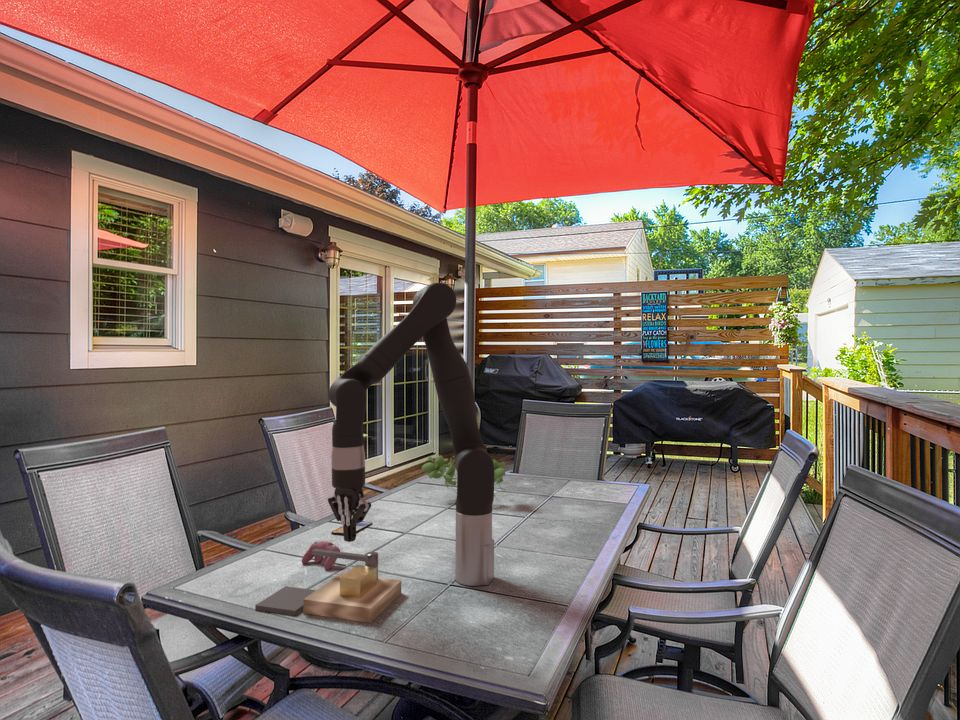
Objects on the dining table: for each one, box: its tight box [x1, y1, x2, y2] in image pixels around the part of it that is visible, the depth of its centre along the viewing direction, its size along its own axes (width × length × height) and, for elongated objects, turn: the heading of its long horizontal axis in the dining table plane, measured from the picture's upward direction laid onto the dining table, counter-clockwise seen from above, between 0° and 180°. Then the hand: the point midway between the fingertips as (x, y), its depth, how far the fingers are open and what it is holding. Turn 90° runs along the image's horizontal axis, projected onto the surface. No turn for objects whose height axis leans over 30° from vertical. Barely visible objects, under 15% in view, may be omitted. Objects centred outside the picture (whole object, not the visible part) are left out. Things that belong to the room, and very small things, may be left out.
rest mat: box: [254, 585, 317, 616], centre depth 128 cm, size 10×11×1 cm
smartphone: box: [331, 520, 373, 537], centre depth 185 cm, size 7×1×15 cm
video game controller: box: [301, 540, 341, 571], centre depth 153 cm, size 10×5×7 cm, turn 60°
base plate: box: [302, 572, 402, 624], centre depth 128 cm, size 16×16×3 cm
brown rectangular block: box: [340, 564, 377, 598], centre depth 128 cm, size 5×8×4 cm, turn 164°
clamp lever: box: [312, 549, 379, 579], centre depth 137 cm, size 18×3×6 cm, turn 72°
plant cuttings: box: [421, 455, 507, 497], centre depth 224 cm, size 35×17×22 cm
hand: (349, 540), depth 130 cm, fingers closed
